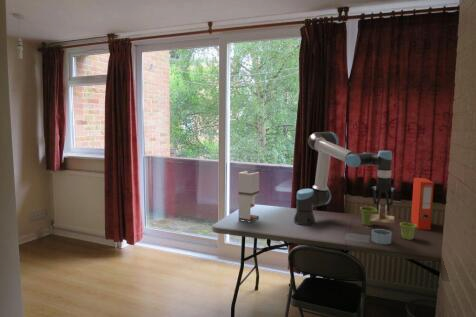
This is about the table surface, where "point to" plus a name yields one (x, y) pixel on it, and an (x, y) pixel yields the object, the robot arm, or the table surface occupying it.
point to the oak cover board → (376, 218)
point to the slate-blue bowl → (381, 236)
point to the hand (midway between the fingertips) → (382, 215)
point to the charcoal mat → (357, 237)
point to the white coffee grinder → (247, 194)
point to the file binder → (422, 203)
